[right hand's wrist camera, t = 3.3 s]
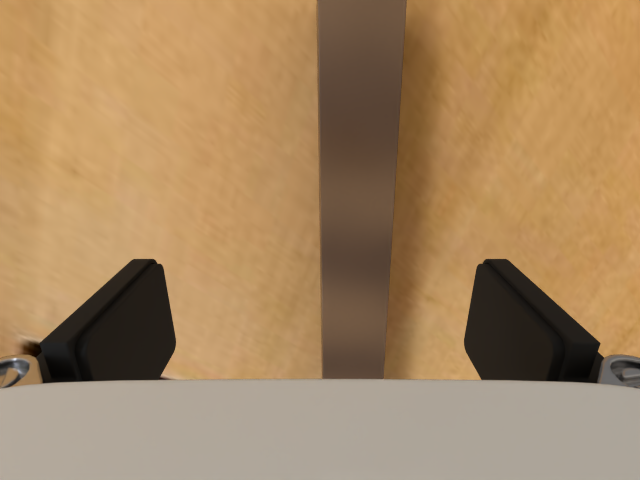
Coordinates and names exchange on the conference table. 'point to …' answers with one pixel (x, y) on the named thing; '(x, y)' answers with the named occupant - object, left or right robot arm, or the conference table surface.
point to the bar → (357, 177)
